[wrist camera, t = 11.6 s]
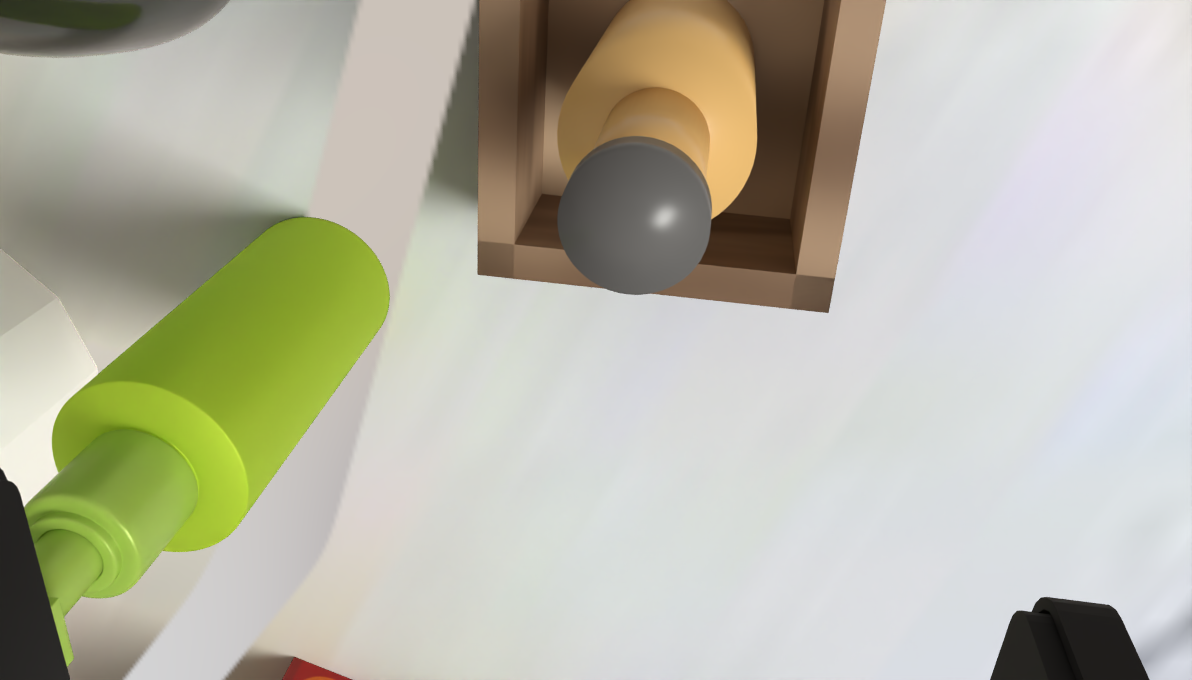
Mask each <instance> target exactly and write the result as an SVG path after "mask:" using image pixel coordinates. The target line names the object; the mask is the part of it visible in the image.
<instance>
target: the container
mask: <svg viewBox="0 0 1192 680" xmlns="http://www.w3.org/2000/svg"><path fill="white" fill-rule="evenodd" d="M97 375H98V368H97V366H96V364H95V362H94V360H93V359H92V357H91V355H90V353H89V351H88V350H87V348H86V346H85V344H84V343H83V341H82V339H81V337H80V335H79V334H78V332H77V330H76V328H75V326H74V325H73V323H72V321H71V319H70V317H69V316H68V314H67V312H66V310H65V308H64V307H63V305H62V303H61V301H60V299H59V298H58V296H56V295H55V294H54V293H53V292H52V291H51V290H49V289H48V288H47V287H46V286H45V285H43V284H42V283H41V282H40V281H39V280H37V279H36V278H35V277H34V276H33V275H32V274H30V273H29V272H28V271H27V270H26V269H24V268H23V267H22V266H21V265H20V264H18V263H17V262H16V261H15V260H14V259H13V258H11V257H10V256H9V255H8V254H7V253H5V252H4V251H3V250H2V249H1V248H0V468H1V469H2V470H3V471H4V473H5V476H6V478H7V480H8V481H11V482H13V483H14V484H15V485H16V486H17V487H18V490H19V492H20V494H21V498H22V502H23V506H24V507H25V505H26V504H27V503H28V502H29V501H30V500H31V499H32V498H33V497H34V496H35V495H36V494H37V493H38V492H39V491H40V490H41V489H42V488H43V487H44V486H45V485H47V484H48V483H49V482H50V481H51V480H52V479H53V478H54V477H55V476H56V475H57V474H58V471H57V468H56V465H55V461H54V457H53V452H52V432H53V426H54V423H55V420H56V418H57V415H58V413H59V412H60V410H61V408H62V407H63V405H64V404H65V403H66V402H67V401H68V400H69V399H70V398H71V397H72V396H73V395H74V394H75V393H77V392H78V391H79V390H80V389H81V388H82V387H84V386H85V385H86V384H87V383H88V382H89V381H91V380H92V379H93V378H94V377H95V376H97Z"/></svg>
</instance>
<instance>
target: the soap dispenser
mask: <svg viewBox="0 0 1192 680" xmlns="http://www.w3.org/2000/svg"><path fill="white" fill-rule="evenodd" d="M389 300H390V294H389V285H388V281H387V277H386V274H385V272H384V269H383V267H382V265H381V263H380V261H379V259H378V258H377V256H376V255H375V253H374V252H373V251H372V250H371V248H370V247H369V246H368V245H367V244H366V243H365V242H364V241H363V240H362V239H361V238H359V237H358V236H357V235H355V234H354V233H353V232H351V231H350V230H348V229H346V228H345V227H343V226H341V225H339V224H336V223H334V222H331V221H328V220H324V219H319V218H312V217H299V218H292V219H288V220H284V221H282V222H279V223H277V224H275V225H273V226H272V227H270V228H269V229H267V230H266V231H265V232H264V233H263V234H261V235H260V236H259V237H258V238H257V239H256V240H254V241H253V242H252V243H251V244H250V245H249V246H247V247H246V248H245V249H244V250H243V251H242V252H240V253H239V254H238V255H237V256H236V257H234V258H233V259H232V260H231V261H230V262H229V263H227V264H226V265H225V266H224V267H223V268H222V269H220V270H219V271H218V272H217V273H216V274H215V275H213V276H212V277H211V278H210V279H209V280H208V281H206V282H205V283H204V284H203V285H202V286H201V287H199V288H198V289H197V290H196V291H195V292H194V293H192V294H191V295H190V296H189V297H188V298H187V299H185V300H184V301H183V302H182V303H181V304H180V305H178V306H177V307H176V308H175V309H174V310H173V311H171V312H170V313H169V314H168V315H167V316H165V317H164V318H163V319H162V320H161V321H160V322H158V323H157V324H156V325H155V326H154V327H153V328H151V329H150V330H149V331H148V332H147V333H146V334H144V335H143V336H142V337H141V338H140V339H139V340H137V341H136V342H135V343H134V344H133V345H132V346H130V347H129V348H128V349H127V350H126V351H125V352H123V353H122V354H121V355H120V356H119V357H118V358H116V359H115V360H114V361H113V362H112V363H111V364H109V365H108V366H107V367H106V368H105V369H104V370H102V371H101V372H100V373H99V374H98V375H97V376H95V377H94V378H93V379H92V380H91V381H89V382H88V383H87V384H86V385H85V386H84V387H82V388H81V389H80V390H79V391H78V392H77V393H75V394H74V395H73V396H72V397H71V398H70V399H69V400H68V401H67V402H66V403H65V404H64V405H63V407H62V408H61V410H60V412H59V413H58V415H57V418H56V420H55V423H54V426H53V432H52V452H53V457H54V461H55V465H56V468H57V471H58V474H57V475H56V476H55V477H54V478H53V479H52V480H51V481H50V482H49V483H48V484H47V485H45V486H44V487H43V488H42V489H41V490H40V491H39V492H38V493H37V494H36V495H35V496H34V497H33V498H32V499H31V500H30V501H29V502H28V503H27V504H26V505H25V507H24V509H25V513H26V517H27V520H28V524H29V528H30V532H31V535H32V539H33V543H34V546H35V550H36V554H37V558H38V561H39V565H40V569H41V572H42V576H43V580H44V584H45V587H46V591H47V595H48V598H49V602H50V606H51V609H52V613H53V617H54V621H55V624H56V628H57V632H58V635H59V639H60V643H61V647H62V650H63V654H64V658H65V661H66V665H67V667H68V666H69V664H70V663H71V662H72V661H73V659H74V656H73V652H72V648H71V644H70V640H69V636H68V632H67V628H66V624H65V620H64V616H65V615H66V614H67V613H68V612H69V611H70V609H71V608H72V607H73V606H74V605H75V603H76V602H77V601H78V600H79V599H80V598H81V596H83V597H88V598H109V597H114V596H118V595H120V594H122V593H124V592H126V591H128V590H129V589H130V588H131V587H133V586H134V585H135V584H136V583H137V582H138V580H139V579H140V578H141V577H142V576H143V574H144V573H145V572H146V571H147V569H148V568H149V567H150V566H151V564H152V563H153V562H154V561H155V559H156V558H157V557H158V556H159V554H160V553H161V552H162V551H169V552H188V551H195V550H200V549H204V548H207V547H210V546H212V545H215V544H217V543H219V542H220V541H222V540H223V539H225V538H226V537H228V536H229V535H230V534H231V533H232V532H233V531H234V530H235V529H236V528H237V526H238V525H239V524H240V522H241V521H242V519H243V518H244V517H245V515H246V514H247V513H248V511H249V510H250V508H251V507H252V506H253V504H254V503H255V502H256V500H257V499H258V497H259V496H260V495H261V493H262V492H263V490H264V489H265V488H266V486H267V485H268V483H269V482H270V481H271V479H272V478H273V477H274V475H275V474H276V472H277V470H279V468H280V467H281V465H282V464H283V463H284V461H285V460H286V459H287V457H288V456H289V454H290V453H291V452H292V450H293V449H294V447H295V446H296V444H297V443H298V442H299V440H300V439H301V438H302V436H303V435H304V434H305V432H306V431H307V429H308V428H309V427H310V425H311V424H312V422H313V421H314V420H315V418H316V417H317V415H318V414H319V413H320V411H321V410H322V409H323V407H324V406H325V404H326V403H327V402H328V400H329V399H330V397H331V396H332V394H333V393H334V392H335V390H336V389H337V388H338V386H339V385H340V383H341V382H342V381H343V379H344V378H345V376H346V375H347V374H348V372H349V371H350V370H351V368H352V367H353V365H354V364H355V363H356V361H357V360H358V358H359V357H360V356H361V354H362V353H363V351H364V350H365V349H366V347H367V346H368V345H369V343H370V342H371V340H372V339H373V338H374V336H375V335H376V333H377V332H378V330H379V329H380V328H381V326H382V325H383V322H384V321H385V318H386V316H387V312H388V308H389Z"/></svg>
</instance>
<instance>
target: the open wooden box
mask: <svg viewBox="0 0 1192 680" xmlns="http://www.w3.org/2000/svg"><path fill="white" fill-rule="evenodd" d="M628 1H630V0H479V117H478V275H486V276H495V277H504V278H513V279H522V280H531V281H541V282H550V283H559V284H568V285H577V286H586V287H596V288H603V287H601V286H599V285H597V284H595V283H594V282H592V281H590V280H589V279H588V278H586V277H585V276H584V275H583V274H582V273H581V272H580V271H579V270H578V269H577V268H576V267H575V266H574V265H573V264H572V262H571V261H570V259H569V258H568V256H567V255H566V253H565V251H564V248H563V246H562V244H561V240H560V237H559V232H558V223H557V216H558V207H559V204H560V200H561V197H562V194H563V192H564V190H565V188H566V185H567V183H568V179H567V177H566V174H565V172H564V170H563V167H562V164H561V160H560V157H559V150H558V144H557V129H558V120H559V115H560V111H561V107H562V104H563V102H564V99H565V97H566V94H567V93H568V91H569V89H570V87H571V85H572V84H573V82H574V80H575V79H576V77H577V76H578V74H579V72H580V71H581V69H582V68H583V66H584V64H585V63H586V61H587V60H588V58H589V56H590V55H591V53H592V52H593V50H594V48H595V47H596V45H597V44H598V42H599V40H600V39H601V37H602V36H603V34H604V32H605V31H606V29H607V28H608V26H609V24H610V23H611V21H612V20H613V18H614V17H615V15H616V14H617V13H618V11H619V10H620V9H621V8H622V7H623V6H624V5H625V4H626V3H627V2H628ZM727 1H728V2H729V3H730V4H731V5H732V6H733V7H734V8H735V9H736V10H737V11H738V13H739V14H740V16H741V17H742V18H743V20H744V22H745V24H746V26H747V28H748V30H749V32H750V35H751V38H752V42H753V47H754V56H755V84H756V117H757V147H756V155H755V159H754V164H753V167H752V170H751V172H750V175H749V177H748V179H747V181H746V183H745V185H744V187H743V188H742V190H741V191H740V193H739V194H738V196H737V197H736V198H735V199H734V200H733V202H732V203H731V204H730V205H729V206H728V207H727V208H726V209H725V210H723V211H722V212H721V213H720V214H719V215H717V216H716V217H714V218H713V219H711V228H710V236H709V241H708V245H707V247H706V250H705V253H704V255H703V257H702V259H701V260H700V262H699V263H698V265H697V266H696V267H695V268H694V270H693V271H692V272H691V273H690V274H689V275H688V276H686V277H685V278H684V279H683V280H682V281H680V282H678V283H677V284H675V285H674V286H671V287H669V288H667V289H665V290H662V291H659V292H655V293H651V294H660V295H669V296H678V297H687V298H696V299H705V300H715V301H724V302H733V303H742V304H751V305H760V306H770V307H779V308H788V309H797V310H806V311H815V312H825V313H829V307H830V302H831V296H832V291H833V286H834V280H835V275H836V269H837V264H838V258H839V253H840V248H841V242H842V237H843V231H844V226H845V220H846V215H847V210H848V204H849V199H850V193H851V188H852V182H853V177H854V172H855V166H856V161H857V155H858V150H859V145H860V139H861V134H862V128H863V123H864V117H865V112H866V107H867V101H868V96H869V90H870V85H871V79H872V74H873V69H874V63H875V58H876V52H877V47H878V41H879V36H880V31H881V25H882V20H883V14H884V9H885V3H886V0H727Z"/></svg>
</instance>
